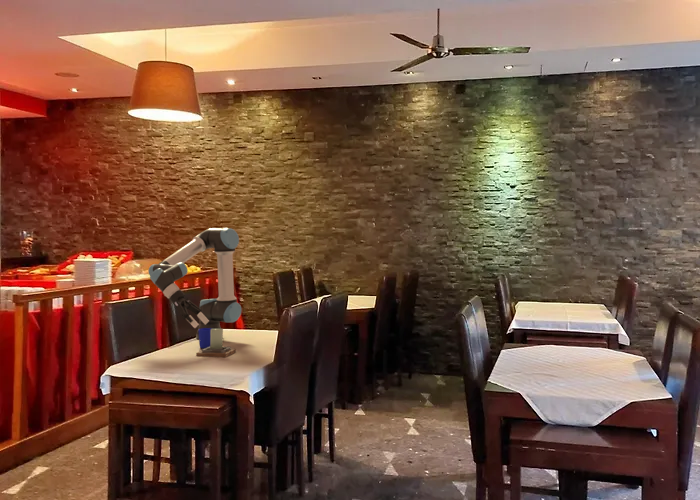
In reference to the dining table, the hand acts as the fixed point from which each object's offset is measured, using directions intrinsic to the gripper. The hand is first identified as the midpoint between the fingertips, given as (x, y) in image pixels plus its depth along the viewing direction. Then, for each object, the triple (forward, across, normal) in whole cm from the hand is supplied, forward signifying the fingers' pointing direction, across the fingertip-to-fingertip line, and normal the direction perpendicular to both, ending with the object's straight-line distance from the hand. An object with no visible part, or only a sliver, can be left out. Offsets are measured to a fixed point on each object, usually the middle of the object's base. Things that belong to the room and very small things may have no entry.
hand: (202, 324), depth 308 cm
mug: (+8, -18, -14) cm, 24 cm away
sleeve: (+15, 0, -4) cm, 15 cm away
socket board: (+16, 0, -5) cm, 16 cm away
